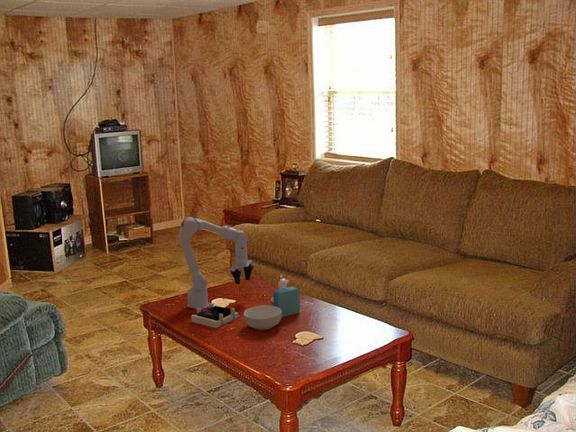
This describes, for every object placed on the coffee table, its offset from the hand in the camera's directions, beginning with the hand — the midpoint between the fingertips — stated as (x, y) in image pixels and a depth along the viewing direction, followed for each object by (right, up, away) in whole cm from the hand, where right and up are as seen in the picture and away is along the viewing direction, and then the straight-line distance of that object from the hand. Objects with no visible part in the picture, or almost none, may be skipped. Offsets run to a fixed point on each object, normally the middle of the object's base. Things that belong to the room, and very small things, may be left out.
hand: (242, 281), depth 313 cm
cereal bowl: (+11, -17, -31) cm, 37 cm away
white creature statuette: (+20, -10, 0) cm, 22 cm away
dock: (-11, -15, -21) cm, 28 cm away
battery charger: (-12, -15, -20) cm, 28 cm away
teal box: (+22, -13, -17) cm, 31 cm away
